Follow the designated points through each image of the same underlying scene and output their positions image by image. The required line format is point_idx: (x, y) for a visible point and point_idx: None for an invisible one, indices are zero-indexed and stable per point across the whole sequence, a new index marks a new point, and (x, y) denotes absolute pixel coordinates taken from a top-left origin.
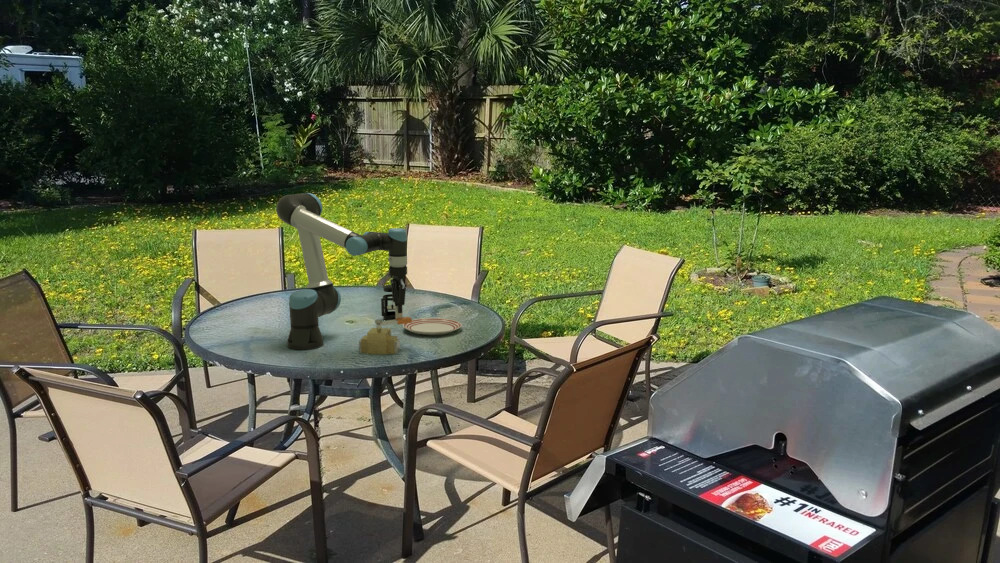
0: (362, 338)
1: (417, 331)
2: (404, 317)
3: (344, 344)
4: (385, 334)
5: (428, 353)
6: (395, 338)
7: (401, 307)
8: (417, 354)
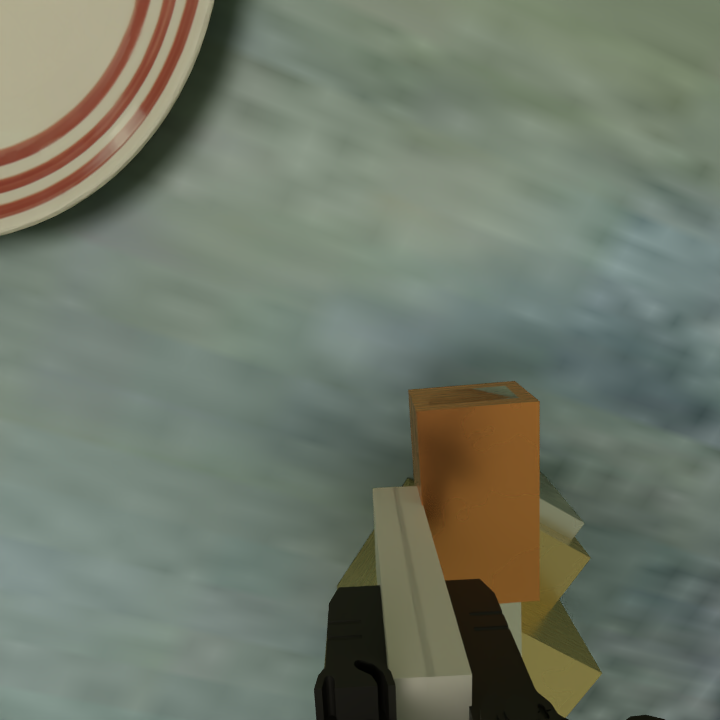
0: None
1: (128, 162)
2: (440, 482)
3: (163, 714)
4: (590, 670)
5: (658, 255)
6: (544, 533)
7: (527, 679)
8: (635, 344)
